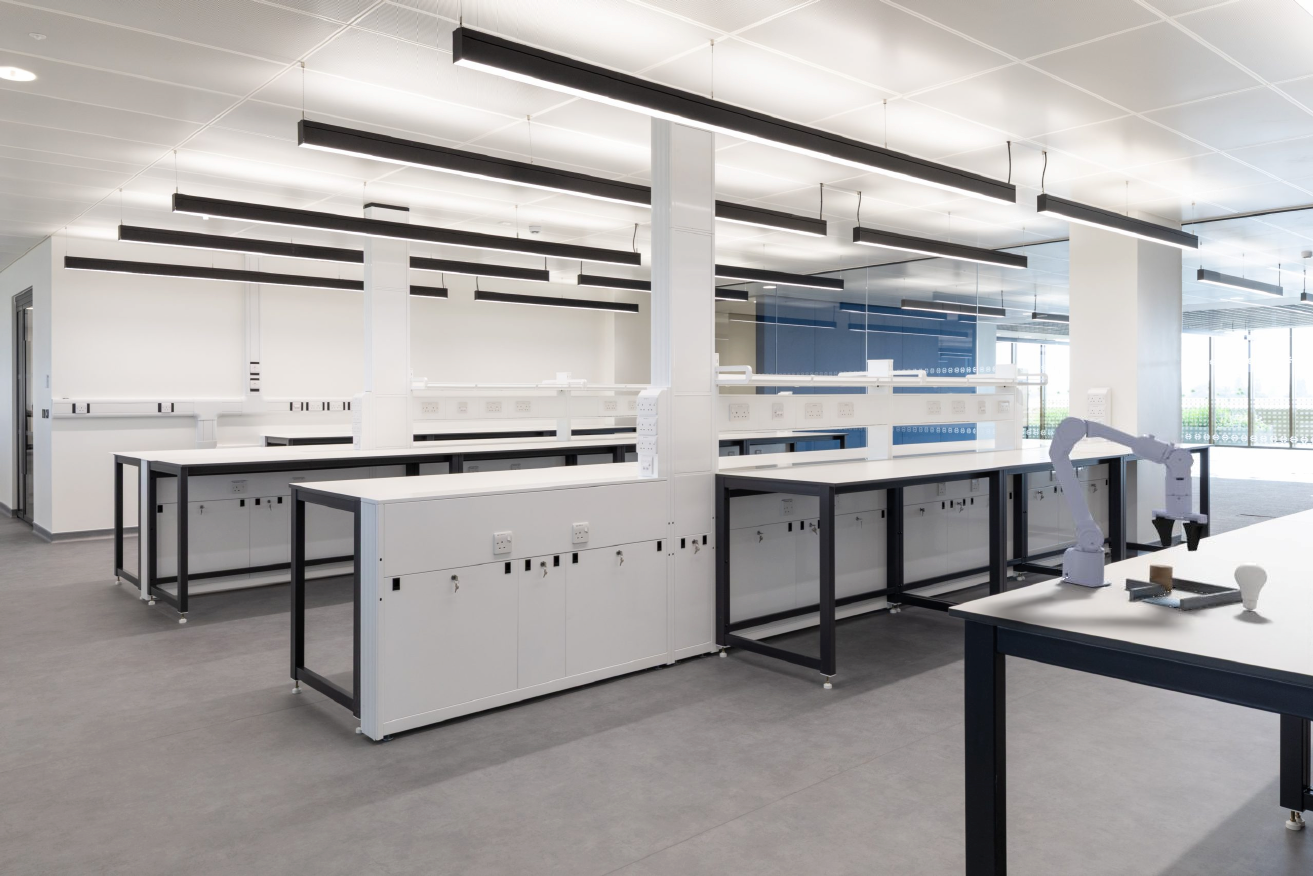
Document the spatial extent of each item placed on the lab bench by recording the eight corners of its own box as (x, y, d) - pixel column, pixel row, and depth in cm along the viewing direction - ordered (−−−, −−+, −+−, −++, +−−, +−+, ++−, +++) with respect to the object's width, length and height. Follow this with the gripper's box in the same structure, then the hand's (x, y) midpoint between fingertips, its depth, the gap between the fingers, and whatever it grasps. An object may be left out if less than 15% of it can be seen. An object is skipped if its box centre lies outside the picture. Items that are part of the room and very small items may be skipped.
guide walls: (1096, 592, 212) (1097, 582, 212) (1156, 583, 223) (1157, 574, 223) (1184, 610, 193) (1184, 600, 193) (1244, 600, 204) (1245, 590, 204)
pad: (1141, 601, 203) (1142, 599, 203) (1162, 597, 206) (1162, 596, 206) (1175, 608, 196) (1175, 606, 196) (1196, 604, 199) (1196, 603, 199)
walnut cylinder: (1144, 588, 217) (1145, 565, 217) (1156, 587, 219) (1157, 564, 219) (1164, 592, 213) (1164, 568, 212) (1176, 590, 215) (1176, 567, 215)
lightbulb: (1227, 609, 195) (1228, 561, 195) (1243, 606, 198) (1245, 559, 197) (1255, 614, 190) (1257, 566, 189) (1272, 612, 192) (1273, 564, 192)
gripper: (1216, 496, 208) (1217, 551, 208) (1167, 492, 222) (1167, 543, 222) (1193, 497, 206) (1194, 553, 206) (1145, 493, 220) (1145, 545, 220)
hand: (1179, 548), depth 214 cm, fingers open, 7 cm apart
